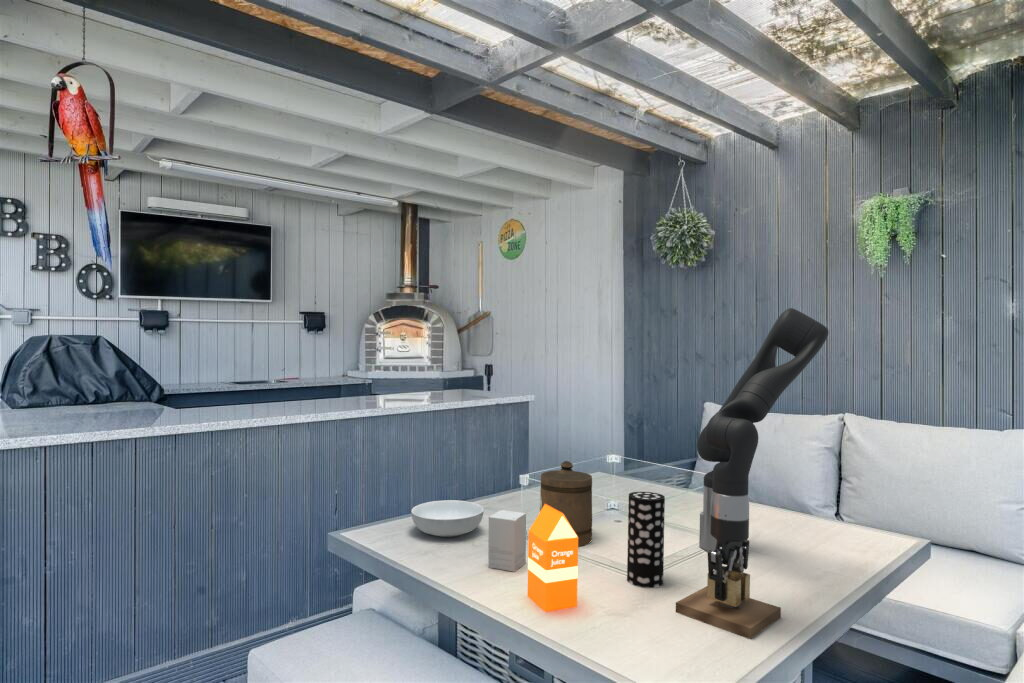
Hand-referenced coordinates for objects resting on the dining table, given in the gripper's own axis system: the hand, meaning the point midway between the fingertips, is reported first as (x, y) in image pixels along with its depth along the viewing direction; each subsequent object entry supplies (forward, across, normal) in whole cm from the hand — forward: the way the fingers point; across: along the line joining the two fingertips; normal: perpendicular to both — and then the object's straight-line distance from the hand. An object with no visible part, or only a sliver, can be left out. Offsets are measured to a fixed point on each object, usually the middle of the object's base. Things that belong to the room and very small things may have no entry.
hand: (728, 595), depth 130 cm
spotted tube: (+4, +3, +22) cm, 23 cm away
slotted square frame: (+1, 0, 0) cm, 1 cm away
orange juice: (+4, -22, +29) cm, 37 cm away
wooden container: (+4, +13, +55) cm, 57 cm away
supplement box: (+4, -14, +51) cm, 53 cm away
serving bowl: (+4, -8, +82) cm, 83 cm away
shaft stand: (+4, 0, 0) cm, 4 cm away
